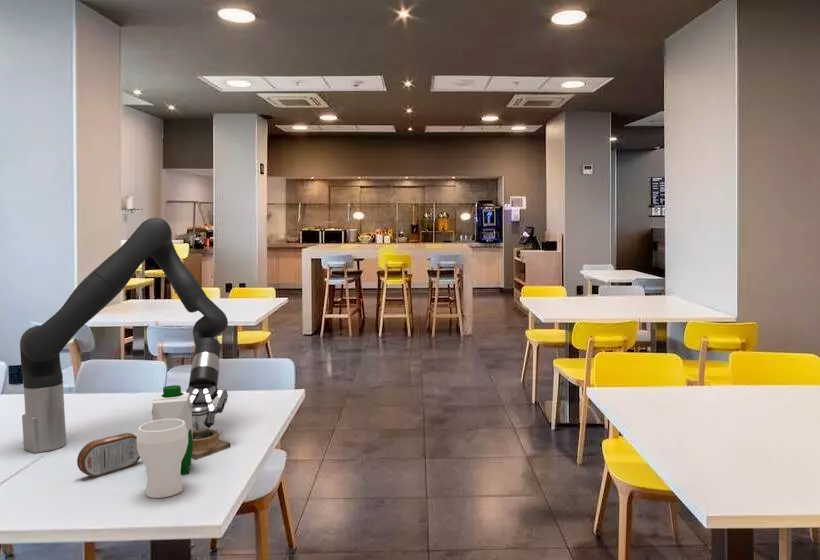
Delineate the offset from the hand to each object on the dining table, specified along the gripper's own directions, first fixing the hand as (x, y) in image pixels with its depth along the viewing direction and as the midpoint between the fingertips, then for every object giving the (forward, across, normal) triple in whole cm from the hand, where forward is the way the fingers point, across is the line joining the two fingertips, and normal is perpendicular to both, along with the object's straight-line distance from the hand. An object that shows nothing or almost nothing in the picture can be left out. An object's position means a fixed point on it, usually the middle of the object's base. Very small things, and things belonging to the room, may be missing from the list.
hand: (197, 426), depth 161 cm
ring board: (+4, 0, +6) cm, 7 cm away
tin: (+12, -18, -2) cm, 22 cm away
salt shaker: (+2, 0, +4) cm, 5 cm away
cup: (+23, -2, -13) cm, 26 cm away
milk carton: (+14, -3, -4) cm, 15 cm away
